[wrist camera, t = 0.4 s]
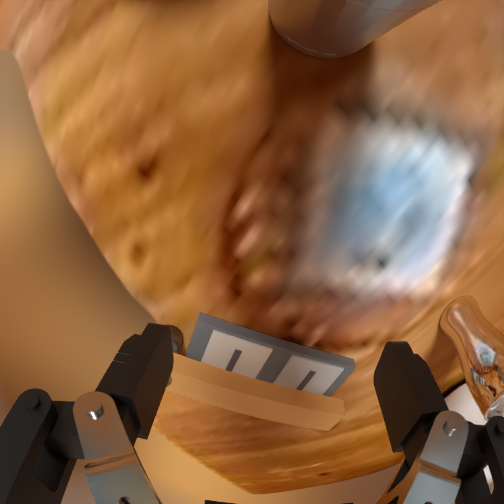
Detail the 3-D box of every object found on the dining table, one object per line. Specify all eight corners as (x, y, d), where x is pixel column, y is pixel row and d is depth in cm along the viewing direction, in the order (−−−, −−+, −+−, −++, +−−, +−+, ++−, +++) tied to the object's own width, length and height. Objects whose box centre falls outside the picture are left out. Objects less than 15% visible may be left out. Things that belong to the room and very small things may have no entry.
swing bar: (142, 363, 32) (135, 378, 30) (146, 342, 31) (138, 357, 28) (326, 415, 34) (328, 431, 32) (342, 399, 33) (345, 415, 30)
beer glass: (457, 285, 30) (520, 374, 16) (487, 300, 30) (543, 378, 17) (426, 329, 33) (470, 423, 19) (458, 339, 33) (501, 422, 20)
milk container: (428, 432, 45) (446, 505, 29) (419, 394, 39) (448, 488, 23) (499, 394, 40) (528, 460, 24) (507, 345, 34) (552, 425, 18)
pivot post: (162, 321, 35) (151, 343, 31) (185, 330, 35) (176, 353, 32) (158, 337, 36) (148, 359, 33) (180, 346, 36) (172, 368, 33)
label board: (200, 312, 34) (196, 322, 32) (353, 359, 35) (356, 370, 34) (177, 381, 40) (174, 390, 38) (304, 415, 42) (304, 425, 40)
